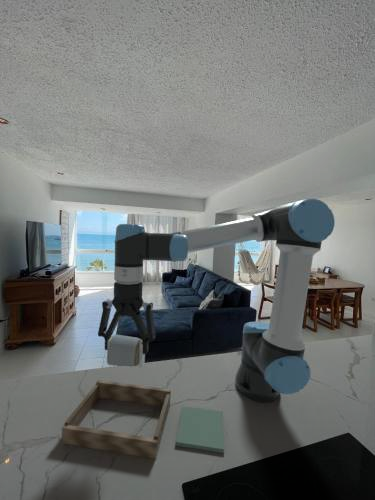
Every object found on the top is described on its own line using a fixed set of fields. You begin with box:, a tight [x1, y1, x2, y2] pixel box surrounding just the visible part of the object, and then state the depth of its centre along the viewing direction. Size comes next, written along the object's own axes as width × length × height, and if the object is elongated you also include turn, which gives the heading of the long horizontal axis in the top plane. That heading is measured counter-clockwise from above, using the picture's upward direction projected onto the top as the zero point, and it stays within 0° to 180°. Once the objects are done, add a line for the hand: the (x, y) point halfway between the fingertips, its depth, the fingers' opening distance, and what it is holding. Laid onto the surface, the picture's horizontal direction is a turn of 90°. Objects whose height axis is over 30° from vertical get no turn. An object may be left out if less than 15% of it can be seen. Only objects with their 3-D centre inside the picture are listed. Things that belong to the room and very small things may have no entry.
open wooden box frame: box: [61, 379, 172, 459], centre depth 61 cm, size 24×17×5 cm
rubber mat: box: [175, 405, 225, 454], centre depth 60 cm, size 12×12×1 cm
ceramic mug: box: [106, 334, 142, 368], centre depth 62 cm, size 11×8×8 cm
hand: (126, 362), depth 60 cm, fingers closed on ceramic mug, 8 cm apart
